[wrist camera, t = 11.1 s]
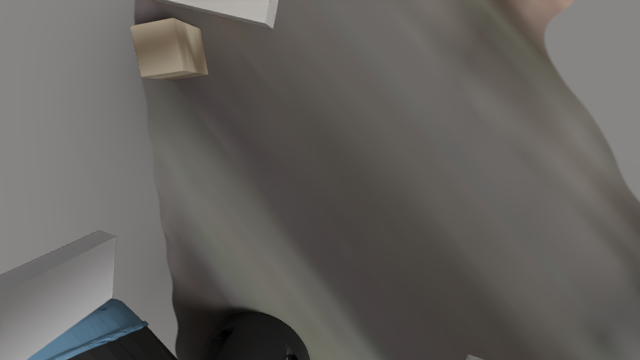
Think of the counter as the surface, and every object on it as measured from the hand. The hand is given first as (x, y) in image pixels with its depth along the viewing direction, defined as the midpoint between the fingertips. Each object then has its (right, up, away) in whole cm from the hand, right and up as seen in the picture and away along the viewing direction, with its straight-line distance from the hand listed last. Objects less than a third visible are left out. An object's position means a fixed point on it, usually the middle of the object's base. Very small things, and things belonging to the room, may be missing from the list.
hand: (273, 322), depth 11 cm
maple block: (-14, +20, +26) cm, 36 cm away
